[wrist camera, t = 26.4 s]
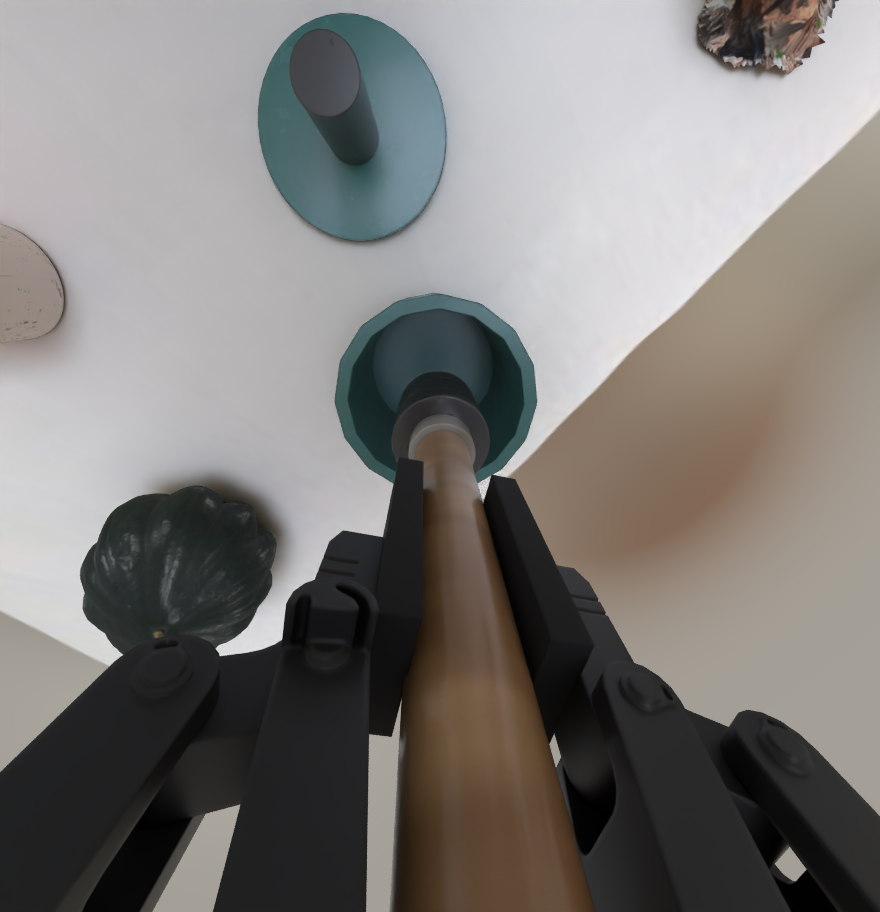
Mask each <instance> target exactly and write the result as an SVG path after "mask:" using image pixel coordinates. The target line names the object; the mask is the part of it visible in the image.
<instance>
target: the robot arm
mask: <svg viewBox="0 0 880 912" xmlns="http://www.w3.org/2000/svg"><path fill="white" fill-rule="evenodd" d="M423 477H424V462H423V461H418V460H412V459H407V458H402V457H399V460H398V465H397V470H396V475H395V480H394V485H393V490H392V495H391V500H390V505H389V510H388V515H387V520H386V525H385V530H384V535H383V537H378V536H373V535H367V534H361V533H355V532H349V531H342V532H341V533H339V534H338V535H337V536H336V537H334V538H333V539H332V540H331V541H330V542H329V544H328V547H327V549H326V552H325V554H324V558H323V560H322V562H321V565H320V567H319V571H318V573H317V575H316V578H315V580H313V581H310V582H307V583H305V584H303V585H302V586H301V587H299V588H298V589H296V590H295V591H294V592H293V593H292V595H291V596H290V598H289V600H288V602H287V603H286V611H285V620H284V629H283V638H282V640H281V641H279V642H278V643H276V644H275V645H272V646H270V647H267V648H265V649H262V650H258V651H253V652H249V653H242V654H234V655H227V656H219V653H218V652H217V650H216V649H215V648H214V646H213V645H212V644H211V642H209V641H206V640H204V639H202V638H200V637H198V636H194V635H182V634H175V635H169V636H163V637H158V638H154V639H152V640H149V641H147V642H145V643H142V644H140V645H138V646H135V647H133V648H132V649H131V650H129V651H128V652H127V653H125V654H124V655H123V656H121V657H120V658H119V659H117V660H116V661H115V662H114V663H113V664H112V665H111V666H110V667H109V668H108V669H107V670H105V671H104V672H103V673H102V674H101V675H100V676H99V677H98V678H97V679H96V680H95V681H94V682H93V683H92V684H91V685H90V686H89V687H88V688H87V689H86V690H85V691H84V692H83V693H82V694H81V695H80V696H79V697H78V698H77V699H75V700H74V701H73V702H72V703H71V704H70V705H69V706H68V707H67V708H66V709H65V710H64V711H63V712H62V713H61V714H60V715H59V716H58V717H57V718H56V719H55V720H54V721H53V722H52V723H51V724H50V725H49V726H48V727H46V729H45V730H44V731H43V732H41V733H40V734H39V735H38V736H37V737H36V738H35V739H34V740H33V741H32V742H31V743H30V744H29V745H28V746H27V747H26V748H25V749H24V750H23V751H22V752H21V753H20V754H19V755H18V756H17V757H15V758H14V760H12V761H11V762H10V763H9V764H8V765H7V766H6V767H5V768H4V769H3V770H2V771H1V772H0V912H152V911H153V909H154V907H155V906H156V903H157V902H158V900H159V898H160V896H161V895H162V893H163V891H164V889H165V887H166V885H167V884H168V882H169V880H170V878H171V876H172V874H173V873H174V871H175V869H176V867H177V865H178V863H179V862H180V860H181V858H182V856H183V854H184V852H185V851H186V849H187V847H188V845H189V843H190V841H191V840H192V837H193V836H194V834H195V832H196V830H197V828H198V827H199V825H200V823H201V821H202V819H203V817H204V816H205V814H206V813H210V812H213V811H217V810H221V809H225V808H228V807H232V806H236V805H239V804H241V805H240V809H239V813H238V817H237V821H236V825H235V828H234V833H233V836H232V840H231V844H230V848H229V852H228V855H227V859H226V863H225V867H224V871H223V875H222V879H221V882H220V887H219V890H218V894H217V898H216V902H215V906H214V910H213V912H366V882H367V881H366V880H367V821H368V820H367V819H368V761H369V760H368V759H369V758H368V757H369V734H373V735H380V736H389V737H391V736H392V733H393V729H394V726H395V722H396V718H397V713H398V710H399V706H400V702H401V699H402V688H403V682H404V679H405V676H406V675H407V673H408V671H409V668H410V664H411V660H412V656H413V652H414V649H415V645H416V641H417V637H418V633H419V629H420V625H421V622H422V579H423ZM483 506H484V509H485V513H486V516H487V520H488V524H489V527H490V531H491V535H492V538H493V542H494V545H495V549H496V553H497V556H498V560H499V564H500V567H501V571H502V575H503V578H504V582H505V585H506V589H507V593H508V596H509V600H510V604H511V607H512V611H513V614H514V618H515V622H516V625H517V629H518V633H519V636H520V640H521V644H522V647H523V651H524V654H525V658H526V662H527V665H528V669H529V673H530V676H531V680H532V684H533V687H534V691H535V694H536V698H537V702H538V705H539V709H540V713H541V716H542V720H543V723H544V727H545V731H546V734H547V738H548V742H549V744H550V742H551V739H552V737H553V735H554V734H555V737H556V740H557V744H558V747H559V751H560V754H561V759H560V761H559V763H558V765H557V767H556V771H557V774H558V778H559V782H560V785H561V789H562V792H563V796H564V800H565V803H566V807H567V811H568V814H569V818H570V822H571V825H572V829H573V832H574V836H575V840H576V843H577V847H578V851H579V854H580V858H581V862H582V865H583V869H584V872H585V876H586V880H587V883H588V887H589V891H590V894H591V898H592V901H593V905H594V909H595V912H880V816H879V815H878V814H877V813H876V812H875V811H874V810H873V809H872V808H871V806H870V805H869V804H868V803H867V802H866V801H865V800H864V799H863V798H862V797H861V796H860V795H859V794H858V793H857V792H856V791H855V790H854V789H853V788H852V787H851V786H850V784H849V783H848V782H847V781H846V780H845V779H844V778H843V777H842V776H841V775H840V774H839V773H838V772H837V771H836V770H835V769H834V768H833V767H832V766H831V765H830V764H829V762H828V761H827V760H826V759H825V758H824V757H823V756H822V755H821V754H820V753H819V752H818V751H817V750H816V749H815V748H814V747H813V746H812V745H811V744H809V743H808V742H807V741H806V740H805V739H804V738H803V737H802V736H801V735H800V734H799V733H797V732H795V731H794V730H793V729H791V728H790V727H788V726H787V725H786V724H784V723H782V722H781V721H779V720H777V719H775V718H773V717H771V716H768V715H766V714H764V713H761V712H756V711H751V710H746V711H742V712H739V713H738V714H737V716H736V717H735V719H734V720H733V722H732V723H731V725H730V726H729V727H727V726H725V725H722V724H720V723H718V722H715V721H713V720H710V719H708V718H705V717H703V716H701V715H698V714H696V713H693V712H691V711H688V710H686V709H685V708H684V706H683V704H682V703H681V701H680V699H679V698H678V697H677V695H676V694H675V693H674V691H673V690H672V688H671V687H670V686H669V685H668V684H666V682H664V681H663V680H662V679H661V678H660V677H659V676H658V675H656V674H655V673H653V672H652V671H650V670H648V669H647V668H645V667H644V666H641V665H638V664H636V663H634V662H633V660H632V658H631V656H630V655H629V653H628V651H627V649H626V647H625V646H624V644H623V642H622V640H621V639H620V637H619V635H618V633H617V631H616V630H615V628H614V626H613V624H612V623H611V621H610V619H609V617H608V616H606V615H605V613H606V612H605V611H604V608H603V607H602V605H601V603H600V602H598V598H597V596H596V594H595V593H594V591H593V589H592V587H591V585H590V584H589V582H588V581H587V580H585V579H584V578H583V577H582V576H581V575H580V574H579V573H578V572H577V571H576V570H575V569H574V568H569V567H562V566H557V565H556V564H555V561H554V559H553V557H552V555H551V553H550V551H549V549H548V547H547V545H546V543H545V540H544V539H543V536H542V534H541V532H540V530H539V528H538V526H537V524H536V522H535V520H534V518H533V516H532V513H531V511H530V509H529V507H528V505H527V503H526V501H525V499H524V497H523V495H522V493H521V491H520V488H519V486H518V484H517V482H516V480H515V479H511V478H506V477H501V476H496V475H491V479H490V482H489V486H488V489H487V493H486V496H485V500H484V503H483ZM789 847H791V849H792V850H793V851H794V853H795V854H796V856H797V857H798V858H799V859H800V861H801V862H802V864H803V865H804V866H805V868H806V869H807V870H806V871H805V872H804V873H803V874H802V875H801V876H800V877H799V879H798V880H797V881H796V882H795V881H792V880H790V879H789V878H788V877H786V876H785V875H784V874H783V873H782V872H781V871H780V870H779V869H778V868H777V866H776V865H775V863H776V862H777V861H778V859H779V858H780V857H781V856H782V855H783V854H784V853H785V851H786V850H787V849H788V848H789Z"/></svg>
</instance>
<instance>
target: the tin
mask: <svg viewBox="0 0 880 912" xmlns="http://www.w3.org/2000/svg"><path fill="white" fill-rule="evenodd" d="M340 361H341V362H340V364H339V371H338V379H337V386H336V394H335V405H336V408H337V412H338V416H339V419H340V423H341V427H342V430H343V434H344V437H345V439H346V440H347V442H348V443H349V444H350V445H351V447H352V448H353V449H354V451H355V452H356V453H357V454H358V456H359V457H360V458H361V460H362V461H363V462H364V464H365V465H366V466H367V467H368V468H369V469H371V470H372V471H374V472H375V473H377V474H379V475H380V476H382V477H384V478H385V479H387V480H389V481H390V482H392V483H394V480H395V475H396V470H397V465H398V464H397V462H396V460H395V457H394V454H393V450H392V433H393V429H394V425H395V420H396V416H397V412H398V407H399V403H400V399H401V396H402V393H403V391H404V390H405V388H406V387H407V385H408V384H409V383H410V382H411V381H412V380H413V379H415V378H416V377H418V376H420V375H422V374H424V373H428V372H433V371H442V372H447V373H451V374H453V375H455V376H457V377H459V378H460V379H461V380H463V381H464V382H465V383H466V384H467V386H468V387H469V389H470V390H471V392H472V394H473V396H474V398H475V401H476V403H477V405H478V407H479V409H480V411H481V413H482V416H483V418H484V420H485V422H486V424H487V427H488V431H489V437H490V445H489V451H488V454H487V457H486V460H485V462H484V463H483V465H482V466H481V468H480V469H479V470H478V471H477V473H476V474H475V476H476V480H477V483H479V482H481V481H482V480H484V479H486V478H487V477H489V476H491V475H493V474H494V473H496V472H498V471H499V470H501V469H502V468H503V467H504V466H505V465H506V464H507V462H508V461H509V460H510V459H511V458H512V456H513V455H514V454H515V453H516V451H517V450H518V449H519V448H520V446H521V445H522V444H523V443H524V441H525V439H526V438H527V435H528V431H529V428H530V425H531V422H532V419H533V415H534V412H535V409H536V406H537V395H536V384H535V373H534V365H533V363H532V361H531V359H530V357H529V355H528V353H527V352H526V350H525V348H524V346H523V344H522V342H521V341H520V339H519V337H518V335H517V333H516V331H515V330H514V329H513V328H512V327H511V326H510V325H508V324H507V323H506V322H504V321H503V320H502V319H501V318H499V317H498V316H497V315H495V314H494V313H493V312H491V311H490V310H489V309H487V308H486V307H485V306H484V305H482V304H480V303H477V302H473V301H469V300H464V299H460V298H456V297H452V296H448V295H443V294H438V293H431V294H426V295H420V296H415V297H410V298H405V299H403V300H400V301H397V302H395V303H393V304H392V305H391V306H389V307H388V308H386V309H385V310H383V311H382V312H381V313H379V314H378V315H376V316H375V317H373V318H372V319H370V320H369V321H368V322H366V323H365V324H363V325H362V326H361V327H360V329H359V330H358V332H357V334H356V335H355V337H354V339H353V340H352V342H351V344H350V345H349V347H348V349H347V350H346V352H345V354H344V355H343V357H342V358H341V360H340Z"/></svg>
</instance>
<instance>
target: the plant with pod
mask: <svg viewBox="0 0 880 912" xmlns="http://www.w3.org/2000/svg"><path fill="white" fill-rule="evenodd" d="M707 1H708V3H704V4H705V5H706V7H707V8H708V9H702V14H701V15H699V16H698V17H699V18H700V19H701V20H702V21H700V22H699V23H698V24H697V25H698V26H699V28H700V31H699V35H698V36H699V37H700V40H701V41H702V43H703V47H704V46H705V45H706V49H708V48H709V47H710V52H711V50H712V49H713V53H714V52H715V53H716V55H719V54H720V58H723V59H724V62H728V61H730V62H731V63H732V65H733V66H734V68H735V67H736V66H737V65H738V67H740V64H741V65H742V66H743V67H744V66H745V65H746V64H747V65H750V66H753V67H754V66H755V65H756V64H757V63H758V62H760V63H761V65H762V66H763V67H764V69H765V70H768V69H769V68H771V67H772V66H774V65H775V64H776V65H777V66H778V67H779V69H780V68H781V66H782V67H783V70H786V71H787V73H788V74H789V73H790V72H791V71H792V70H793V69H794V68H796V67H798V66H800V65H802V64H803V63H802V61H801V60H800V59H803V58H809V57H810V54H811V49H812V47H814V46H816V45H819V44H822V43H825V41H824V40H822V39H821V38H820V37H819V36H818V35H817V34H821V33H824V30H823V27H822V25H823V26H825V25H826V21H827V16H829V17H831V18H832V11H833V9H834V8H835V1H839V0H707ZM702 43H701V44H702Z"/></svg>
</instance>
